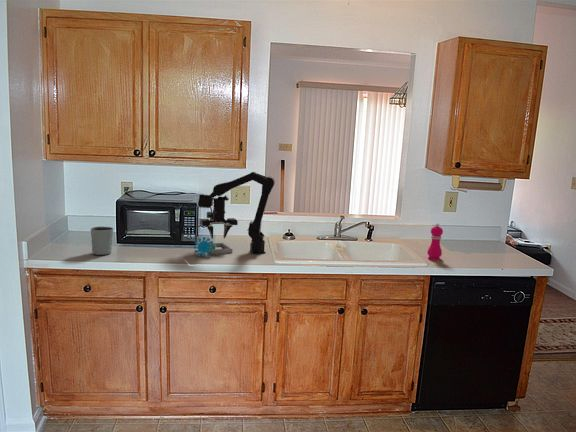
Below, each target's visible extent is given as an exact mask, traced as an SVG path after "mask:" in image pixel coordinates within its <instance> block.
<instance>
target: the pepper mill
mask: <svg viewBox="0 0 576 432" xmlns="http://www.w3.org/2000/svg"><path fill="white" fill-rule="evenodd" d="M443 233H444V230H443V228H442V227H441V226H440V223H436V224H435V226H433V227H432V228H431V229H430V234H431V236H430V238H431V242H430V245H429V247H428V249H427V256H428V257H427V259H428V260H431V261H440V260H441V258H440V257H442V255H443V252H442V247H441V239H442V235H443Z"/></svg>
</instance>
